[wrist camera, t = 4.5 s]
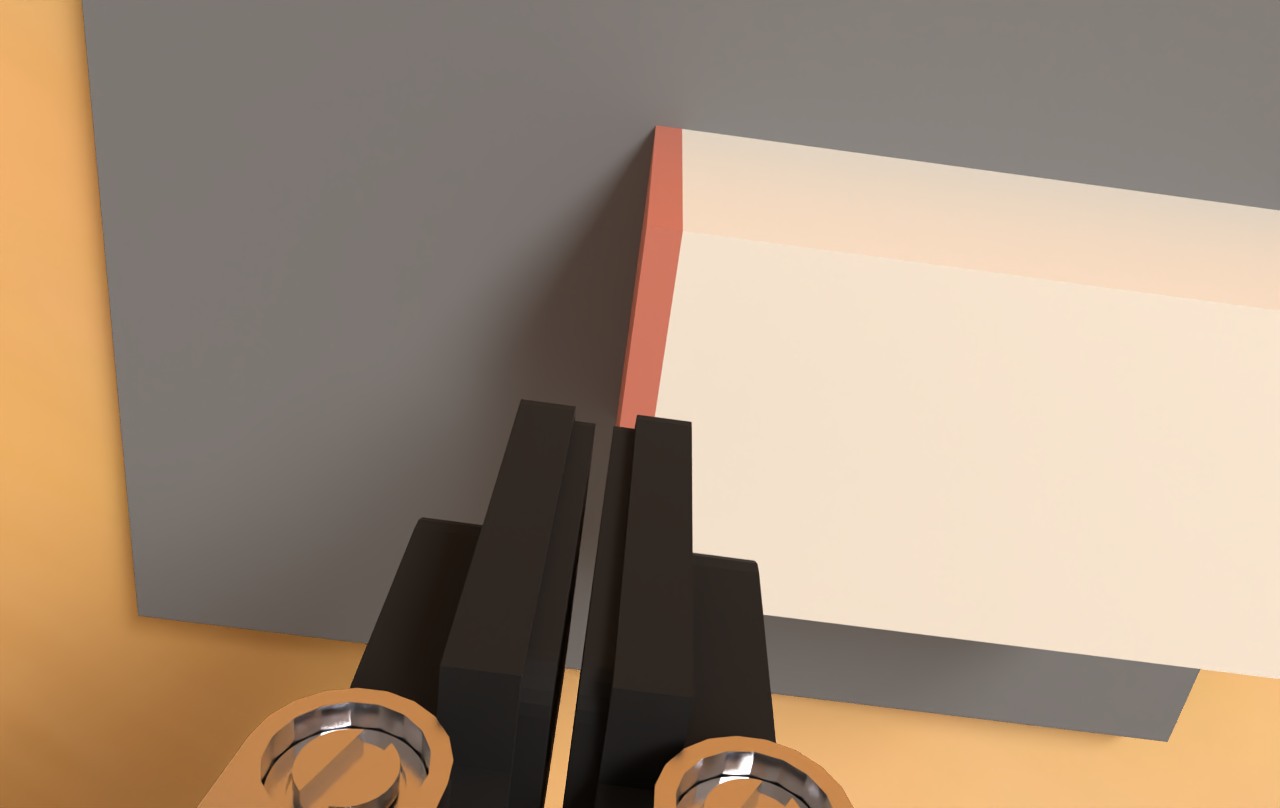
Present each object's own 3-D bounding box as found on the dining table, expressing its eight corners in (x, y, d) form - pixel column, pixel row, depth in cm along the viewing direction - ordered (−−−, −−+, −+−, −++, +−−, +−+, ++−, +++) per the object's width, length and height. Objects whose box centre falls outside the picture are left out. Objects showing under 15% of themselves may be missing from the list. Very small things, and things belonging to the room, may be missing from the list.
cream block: (655, 125, 17) (1304, 214, 17) (616, 418, 19) (1190, 492, 19) (647, 225, 12) (1527, 344, 13) (596, 593, 15) (1345, 686, 15)
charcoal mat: (1537, -174, 15) (1579, -175, 15) (1151, 713, 22) (1167, 741, 22) (75, -390, 15) (45, -401, 14) (155, 590, 22) (137, 615, 21)
